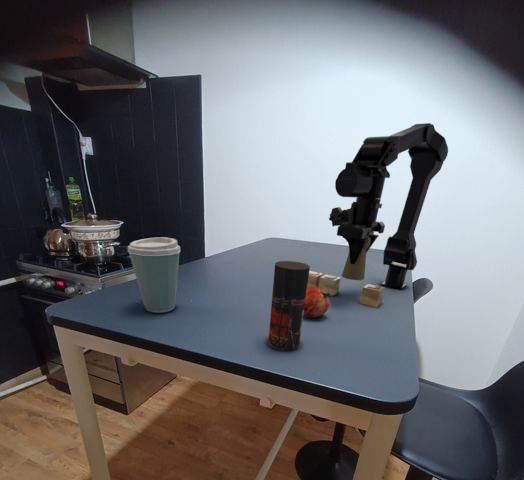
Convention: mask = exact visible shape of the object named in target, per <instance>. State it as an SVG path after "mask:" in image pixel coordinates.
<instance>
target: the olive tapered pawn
mask: <svg viewBox="0 0 524 480" xmlns="http://www.w3.org/2000/svg"><path fill="white" fill-rule="evenodd" d="M365 238H369V240H368V241H367V243H366V245H365V247H364V249H363V250H362V252H361V254H360V256H359V258H358V260H357V261H356V263H355V264H351V263H350V253H349V252H348V254H347V258H346V261H345V264H344V267H343V271H342V274H341V278H344V279H346V280H351V281H363V280H365V275H366V263H367V253H366V251H367V248H368V247H369V245H370V237H369V236H367V235H366V237H365Z"/></svg>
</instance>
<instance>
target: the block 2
mask: <svg viewBox="0 0 524 480" xmlns="http://www.w3.org/2000/svg"><path fill="white" fill-rule="evenodd" d="M341 279H342V277H340V276H335V275H330V274H324V275H323V276H322V277H320V281H319V287H318V288H321V289H323V290H324V291H325V293H330V294H331V295H332V296H330V295H329V296H330V297H333V296H335V295H337V294H339V290H340V284H341ZM329 296H328V297H329Z"/></svg>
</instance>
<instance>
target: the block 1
mask: <svg viewBox="0 0 524 480" xmlns="http://www.w3.org/2000/svg"><path fill="white" fill-rule="evenodd" d="M322 276H324V273H323V272H317V271H312V270H309V277H308V284H307V287H309V286H315V287H319V281H320V277H322Z"/></svg>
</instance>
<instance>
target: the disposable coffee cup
mask: <svg viewBox="0 0 524 480" xmlns="http://www.w3.org/2000/svg"><path fill="white" fill-rule="evenodd" d="M181 251H182V250H181V246H180V245H179V244H178V240H177V239H176V238H173V237H163V236H162V237H148V238H142V239H137V240H134V241H132V242H130V243H129V245H127V253H128V254H129V257H130V261H131V264H132V268H133V272H134V275H135V279H136V282H137V285H138V288H139V292H140V296H141V299H142V303H143V306H144V307H145V310H146V311H148V312H150V313H157V314H163V313H168V312H171V311H173V310H174V309H175V307H176V304H177V293H178V292H177V291H178V278H179V265H180V253H181Z"/></svg>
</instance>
